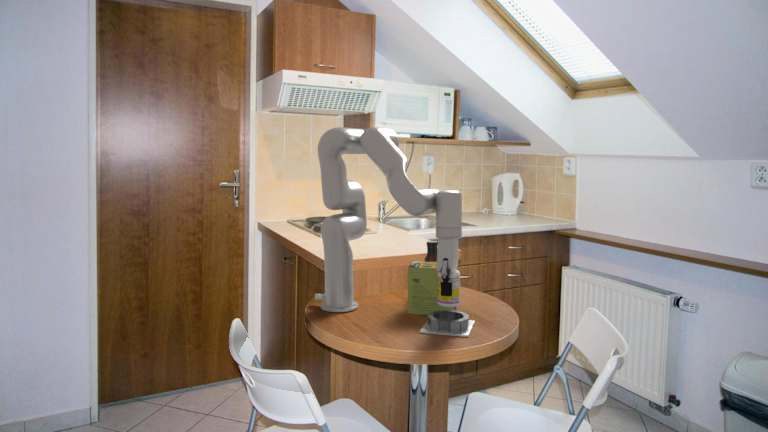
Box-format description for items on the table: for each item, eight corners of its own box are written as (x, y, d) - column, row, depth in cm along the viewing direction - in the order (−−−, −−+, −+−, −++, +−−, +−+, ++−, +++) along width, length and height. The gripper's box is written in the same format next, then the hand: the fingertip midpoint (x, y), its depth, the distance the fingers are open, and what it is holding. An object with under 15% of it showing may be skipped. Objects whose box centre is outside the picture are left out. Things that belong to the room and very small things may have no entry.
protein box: (455, 316, 173) (455, 268, 172) (407, 314, 177) (407, 267, 175) (457, 307, 184) (457, 262, 182) (412, 305, 187) (412, 260, 185)
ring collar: (419, 332, 158) (419, 320, 158) (430, 318, 171) (430, 307, 171) (468, 337, 154) (468, 324, 153) (474, 322, 167) (475, 311, 167)
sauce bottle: (440, 292, 204) (441, 239, 201) (443, 296, 197) (443, 242, 195) (423, 292, 203) (423, 240, 201) (425, 297, 197) (425, 242, 195)
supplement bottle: (441, 300, 166) (440, 259, 165) (462, 302, 164) (462, 260, 162) (434, 306, 160) (434, 263, 158) (457, 308, 157) (457, 264, 156)
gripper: (441, 228, 169) (441, 285, 171) (429, 236, 152) (430, 299, 154) (466, 229, 166) (465, 286, 168) (456, 237, 150) (456, 301, 152)
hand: (448, 292), depth 161 cm, fingers closed on supplement bottle, 6 cm apart
